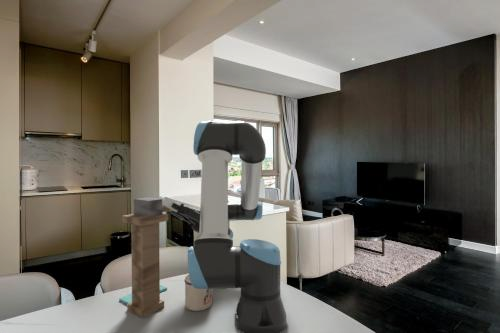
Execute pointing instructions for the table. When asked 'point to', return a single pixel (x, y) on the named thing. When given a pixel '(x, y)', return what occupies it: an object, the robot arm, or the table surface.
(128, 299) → the mat
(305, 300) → the table surface
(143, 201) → the mallet
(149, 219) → the stand
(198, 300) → the teacup with lid
